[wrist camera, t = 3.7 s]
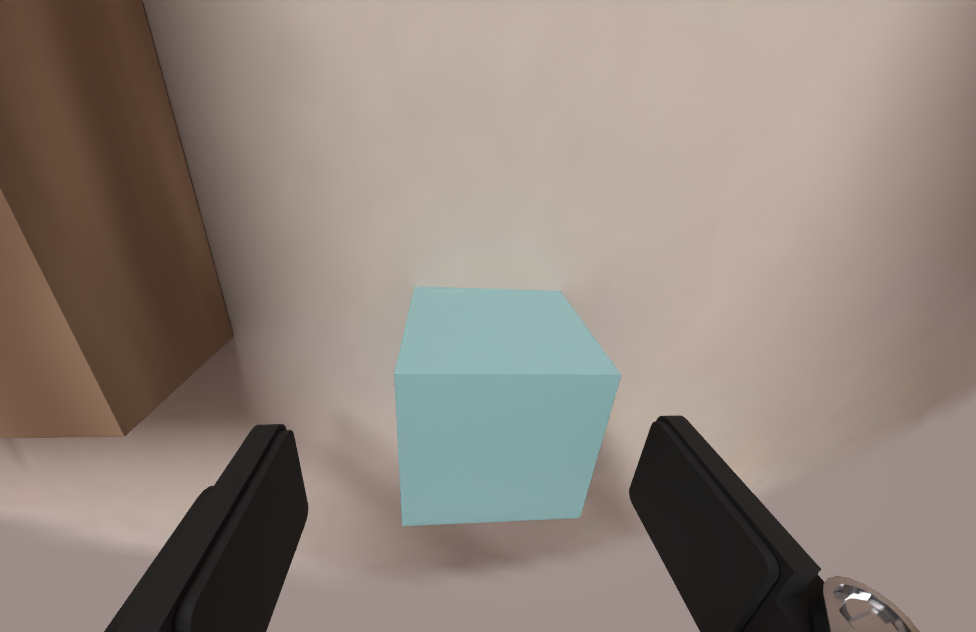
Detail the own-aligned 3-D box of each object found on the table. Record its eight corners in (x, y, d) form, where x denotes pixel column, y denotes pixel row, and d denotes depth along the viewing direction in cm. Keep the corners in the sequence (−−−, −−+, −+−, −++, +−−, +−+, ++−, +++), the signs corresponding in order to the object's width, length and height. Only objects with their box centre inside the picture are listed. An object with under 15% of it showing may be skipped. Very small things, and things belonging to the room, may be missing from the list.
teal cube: (560, 290, 12) (621, 374, 8) (540, 402, 15) (579, 518, 10) (414, 285, 12) (394, 373, 7) (417, 403, 14) (402, 525, 10)
